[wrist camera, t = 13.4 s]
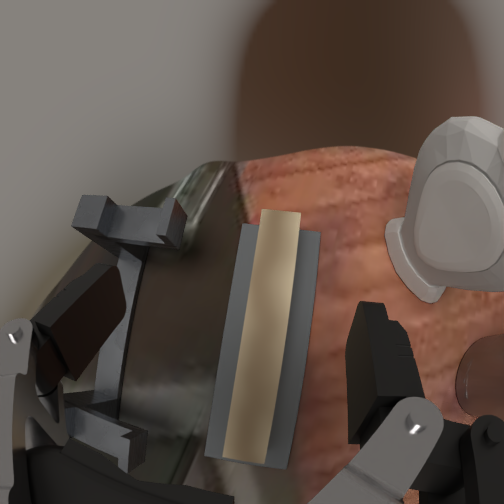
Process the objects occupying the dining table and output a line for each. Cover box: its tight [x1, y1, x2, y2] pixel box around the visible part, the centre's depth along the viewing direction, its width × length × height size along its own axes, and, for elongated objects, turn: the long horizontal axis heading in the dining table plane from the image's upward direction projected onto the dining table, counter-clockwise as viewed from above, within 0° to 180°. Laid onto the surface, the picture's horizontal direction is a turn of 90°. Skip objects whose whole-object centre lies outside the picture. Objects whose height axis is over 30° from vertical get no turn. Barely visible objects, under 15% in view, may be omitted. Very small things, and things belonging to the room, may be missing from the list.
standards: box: [63, 195, 187, 474], centre depth 24 cm, size 10×21×10 cm, turn 171°
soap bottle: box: [385, 116, 504, 303], centre depth 17 cm, size 13×8×24 cm, turn 25°
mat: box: [204, 224, 321, 469], centre depth 27 cm, size 8×24×1 cm, turn 171°
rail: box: [222, 209, 301, 464], centre depth 26 cm, size 4×22×4 cm, turn 171°
